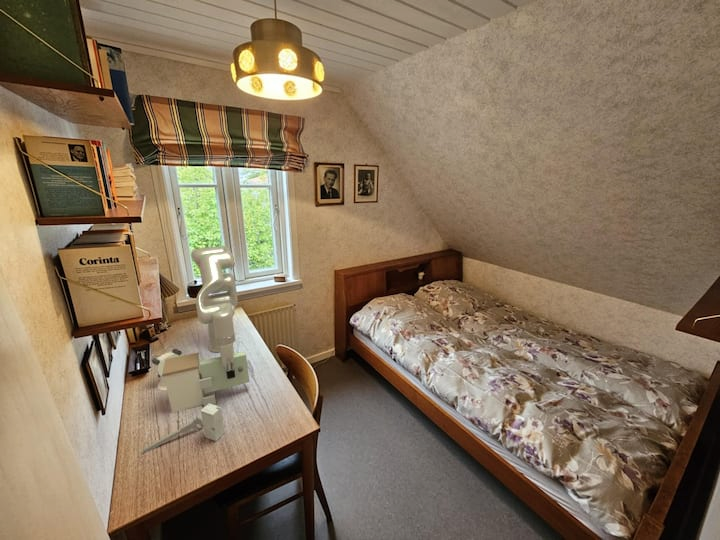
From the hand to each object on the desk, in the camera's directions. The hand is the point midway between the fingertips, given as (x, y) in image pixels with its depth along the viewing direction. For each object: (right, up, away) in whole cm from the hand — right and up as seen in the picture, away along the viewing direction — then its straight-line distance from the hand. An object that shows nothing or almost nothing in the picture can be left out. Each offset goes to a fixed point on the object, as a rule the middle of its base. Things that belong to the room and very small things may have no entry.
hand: (231, 375), depth 136 cm
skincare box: (+1, -17, -18) cm, 25 cm away
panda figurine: (-32, -7, +11) cm, 35 cm away
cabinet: (-16, -11, 0) cm, 19 cm away
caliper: (-13, -18, -20) cm, 30 cm away
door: (-2, -5, +1) cm, 5 cm away
